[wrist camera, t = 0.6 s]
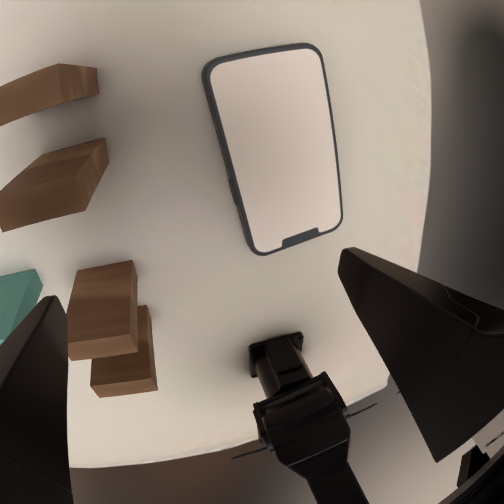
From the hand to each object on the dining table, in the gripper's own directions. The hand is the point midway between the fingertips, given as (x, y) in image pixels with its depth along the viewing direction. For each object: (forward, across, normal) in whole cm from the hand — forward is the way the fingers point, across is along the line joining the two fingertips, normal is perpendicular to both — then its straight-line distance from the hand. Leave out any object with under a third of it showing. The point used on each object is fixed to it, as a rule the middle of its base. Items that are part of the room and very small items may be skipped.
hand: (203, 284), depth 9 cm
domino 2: (+14, +7, -6) cm, 17 cm away
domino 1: (+14, +16, +8) cm, 23 cm away
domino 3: (+14, +7, -1) cm, 16 cm away
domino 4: (+14, +7, +9) cm, 18 cm away
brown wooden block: (+14, +7, +14) cm, 21 cm away
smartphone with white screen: (+15, -8, 0) cm, 17 cm away
